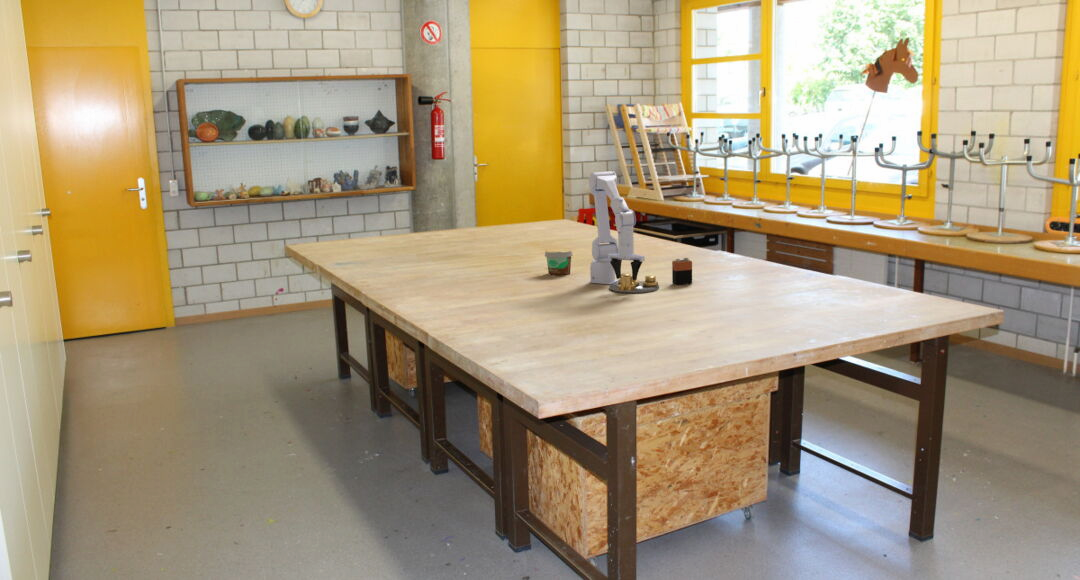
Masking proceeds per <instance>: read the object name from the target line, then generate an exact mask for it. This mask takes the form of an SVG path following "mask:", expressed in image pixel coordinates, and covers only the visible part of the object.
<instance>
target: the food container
mask: <svg viewBox="0 0 1080 580" xmlns="http://www.w3.org/2000/svg"><path fill="white" fill-rule="evenodd" d="M544 257H545V258H546V263H547V272H548V275H549V274H550V275H549V276H552V275H555V276H554V277H563V275H564V276H569V275H571V268H572V267H571V266H572V257H573V252H572V250H569V251H564V252H562V251H554V252H553V251H552V252H551V251H548V250H545V252H544Z"/></svg>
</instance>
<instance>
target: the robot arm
mask: <svg viewBox="0 0 1080 580" xmlns="http://www.w3.org/2000/svg"><path fill="white" fill-rule="evenodd" d="M617 177H618V176H617V174H616V172H615V171H614V170H611V171H596V172H595V171H591V173H590V174H589V177H588V184H589V186H588V187H589V188H588V189H589V193H590V194H591V195H593V198H594V207H595V219H596V227H597V237H596V238H595V239H593V240H592V243H591V255H592V256H591V257H592V258H593V260H592V261H591V262H590V267H589V269H590V270H589V271H590V274H589V275H590V280H589V283H590V284H600V285H601V284H603V285H612V284H614V283H618V280H619V279H620V276H621V274H622V273H621V272H622V271H621V270H622V263H623V262H622V261H630V266H631V273H632V275H631V276H632V279H633V280H636V279H637V280H638V274H639V270H640V269H641V267H642V266H641V265H642V264H643V262H645V255H640V254H634V253H635V252H634V249H635V248H634V243H635V242H634V227H635V225H636V224H637V217H636V213H635V211H634V210H632V209H630V208H629V207H628V203H627V202H626V200H625V198H624V197H623V196H622V197H621V196H620V193H619V191H618V188H617V182H618V178H617ZM607 196H608V198H609V199H610V205H608V198H607ZM608 206H610V209H612V212H613V214H614V216H615V217H614V222H615V226H616V231H617V238H618V239H617V238H615V237H613V236H612V235H611V227H610V217H609V209H608Z"/></svg>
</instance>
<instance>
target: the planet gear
mask: <svg viewBox="0 0 1080 580" xmlns="http://www.w3.org/2000/svg"><path fill="white" fill-rule="evenodd" d="M619 279H620V283H621V285H618V290H622V291H624V290H625V291H627V290H628V291H630V290H635V285H633V284H632V275H623V276H620V278H619Z"/></svg>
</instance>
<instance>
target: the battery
mask: <svg viewBox="0 0 1080 580" xmlns="http://www.w3.org/2000/svg"><path fill="white" fill-rule="evenodd" d="M671 265H672V267H671V269H672V270H671V271H672V273H671V274H672V279H671V280H672V281H671V282H672V284H673V285H675V284H676V285H675V286H681V285H682V286H683V285H692V284H693V261H692V260H690V257H683V258H682V259H680V258H675V260H672V264H671Z"/></svg>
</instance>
